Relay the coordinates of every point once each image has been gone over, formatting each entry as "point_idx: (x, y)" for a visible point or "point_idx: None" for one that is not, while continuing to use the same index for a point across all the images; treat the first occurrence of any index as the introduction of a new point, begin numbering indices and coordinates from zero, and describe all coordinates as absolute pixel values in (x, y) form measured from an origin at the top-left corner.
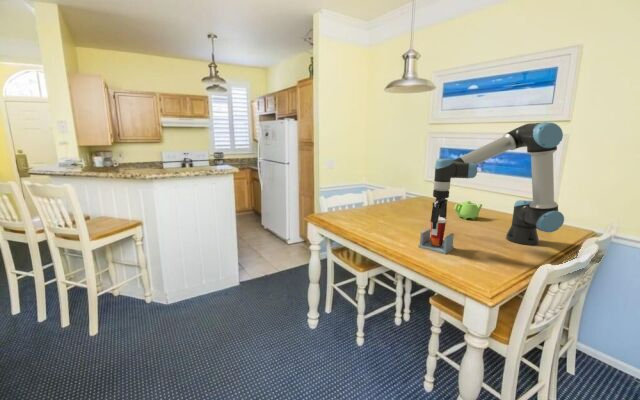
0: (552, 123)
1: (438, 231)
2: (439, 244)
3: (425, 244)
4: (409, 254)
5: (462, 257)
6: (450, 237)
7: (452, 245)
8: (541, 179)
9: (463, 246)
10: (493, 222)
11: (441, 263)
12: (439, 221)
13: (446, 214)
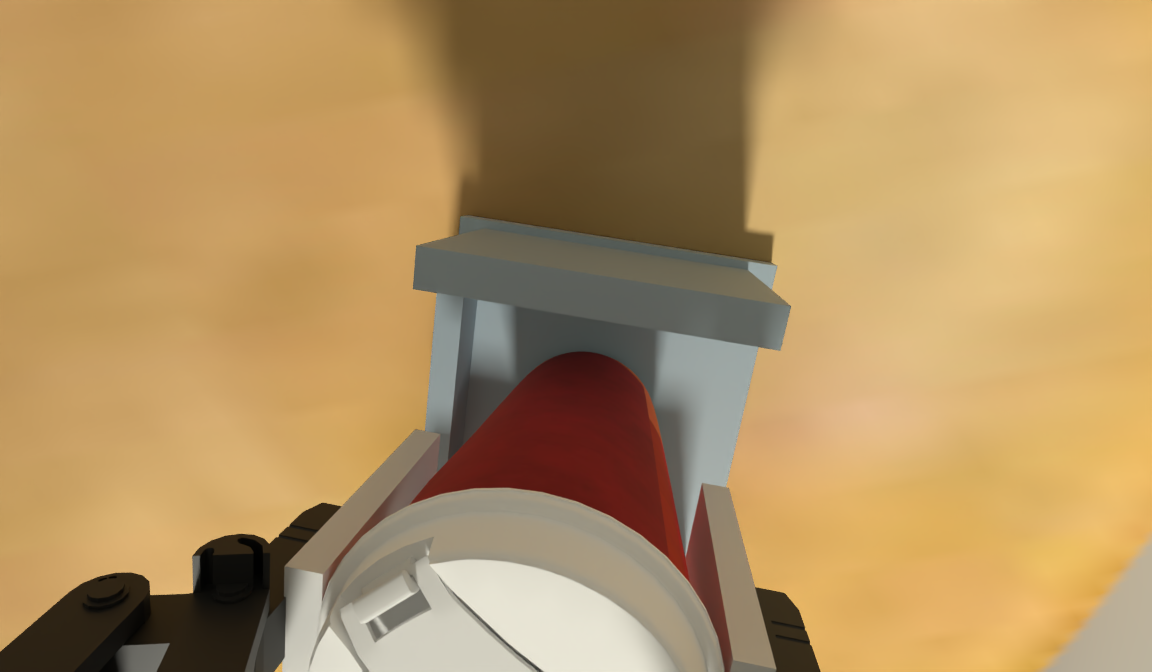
0: None
1: (673, 504)
2: (639, 381)
3: None
4: (1000, 609)
5: (766, 43)
6: (594, 269)
7: (490, 230)
8: None
9: (327, 114)
10: None
11: (1139, 238)
12: (699, 666)
13: (29, 628)
